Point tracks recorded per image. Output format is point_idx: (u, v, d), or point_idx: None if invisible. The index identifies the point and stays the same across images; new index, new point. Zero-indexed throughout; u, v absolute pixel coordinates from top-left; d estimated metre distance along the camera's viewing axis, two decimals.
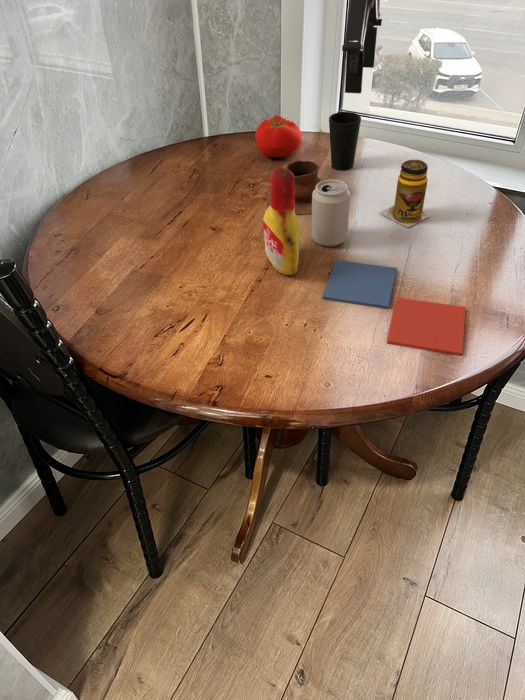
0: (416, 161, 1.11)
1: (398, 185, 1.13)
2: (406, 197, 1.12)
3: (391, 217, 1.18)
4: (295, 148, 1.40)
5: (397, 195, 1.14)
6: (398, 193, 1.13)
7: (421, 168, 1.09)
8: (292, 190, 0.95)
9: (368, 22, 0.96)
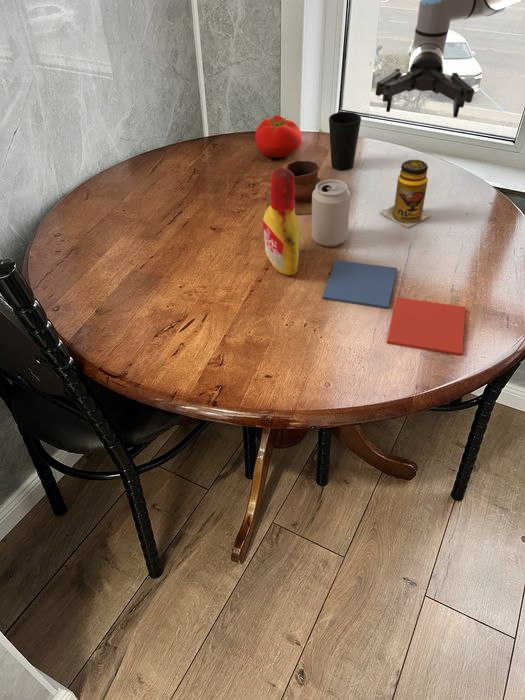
0: (416, 161, 1.11)
1: (398, 185, 1.13)
2: (406, 197, 1.12)
3: (391, 217, 1.18)
4: (295, 148, 1.40)
5: (397, 195, 1.14)
6: (398, 193, 1.13)
7: (421, 168, 1.09)
8: (292, 190, 0.95)
9: None
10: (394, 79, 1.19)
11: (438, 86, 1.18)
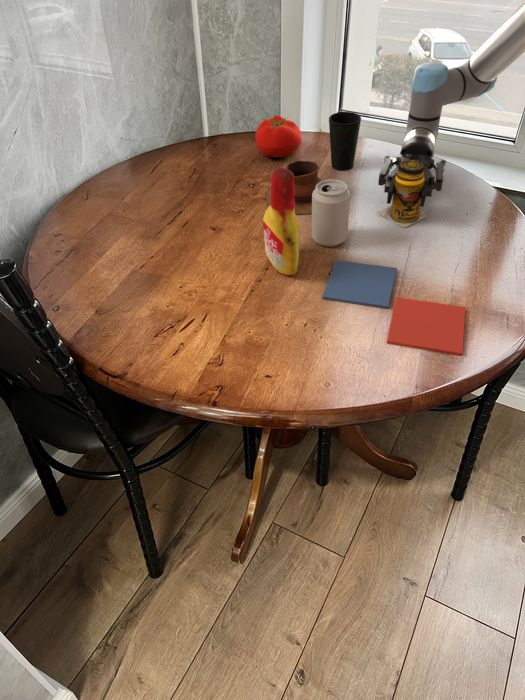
0: (413, 161, 1.11)
1: (395, 185, 1.13)
2: (403, 197, 1.12)
3: (388, 217, 1.18)
4: (295, 148, 1.40)
5: (394, 195, 1.14)
6: (395, 193, 1.13)
7: (418, 168, 1.09)
8: (292, 190, 0.95)
9: None
10: (389, 166, 1.21)
11: None
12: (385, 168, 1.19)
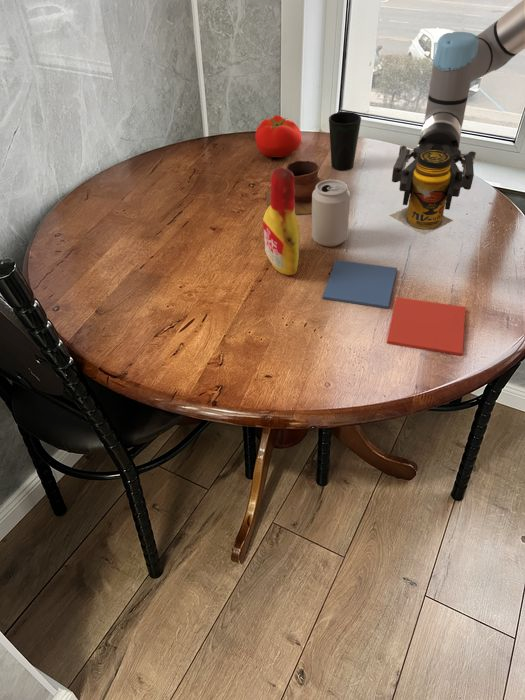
0: (437, 152, 0.88)
1: (413, 181, 0.90)
2: (423, 197, 0.89)
3: (404, 221, 0.96)
4: (295, 148, 1.40)
5: (412, 194, 0.91)
6: (413, 191, 0.91)
7: (443, 160, 0.86)
8: (292, 190, 0.95)
9: None
10: (405, 159, 0.98)
11: None
12: (400, 161, 0.96)
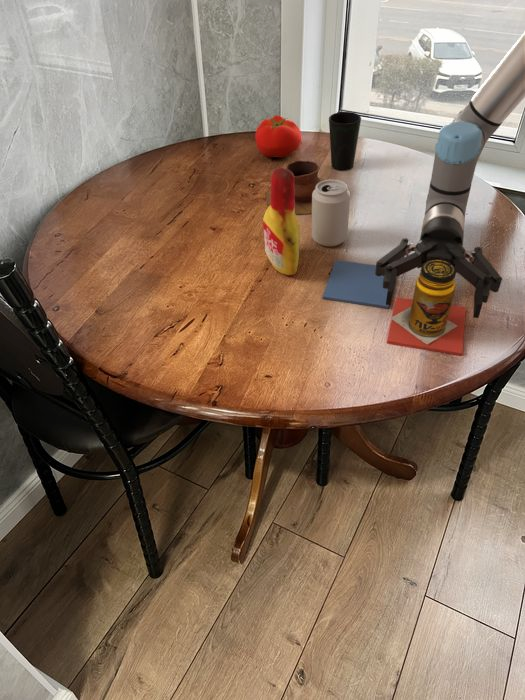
0: (441, 262, 0.84)
1: (416, 291, 0.86)
2: (427, 308, 0.86)
3: (406, 326, 0.92)
4: (295, 148, 1.40)
5: (414, 303, 0.87)
6: (416, 301, 0.87)
7: (448, 274, 0.82)
8: (292, 190, 0.95)
9: None
10: (400, 254, 0.95)
11: (456, 265, 0.93)
12: (389, 256, 0.93)
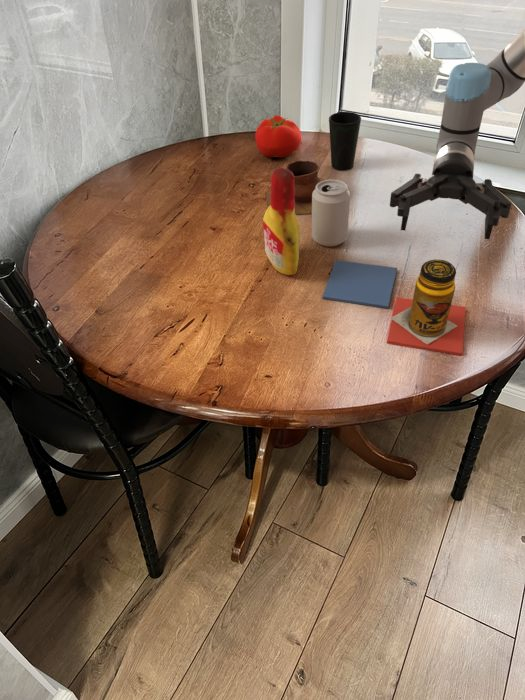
0: (441, 262, 0.84)
1: (416, 291, 0.86)
2: (427, 308, 0.86)
3: (406, 326, 0.92)
4: (295, 148, 1.40)
5: (414, 303, 0.87)
6: (416, 301, 0.87)
7: (448, 274, 0.82)
8: (292, 190, 0.95)
9: None
10: (413, 187, 1.00)
11: (467, 196, 0.97)
12: (403, 188, 0.98)
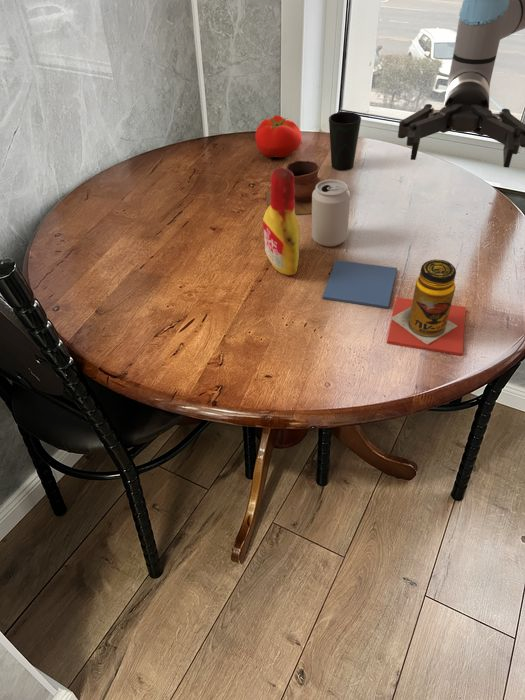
0: (441, 262, 0.84)
1: (416, 291, 0.86)
2: (427, 308, 0.86)
3: (406, 326, 0.92)
4: (295, 148, 1.40)
5: (414, 303, 0.87)
6: (416, 301, 0.87)
7: (448, 274, 0.82)
8: (292, 190, 0.95)
9: None
10: (423, 117, 0.91)
11: (482, 126, 0.89)
12: (413, 117, 0.89)
